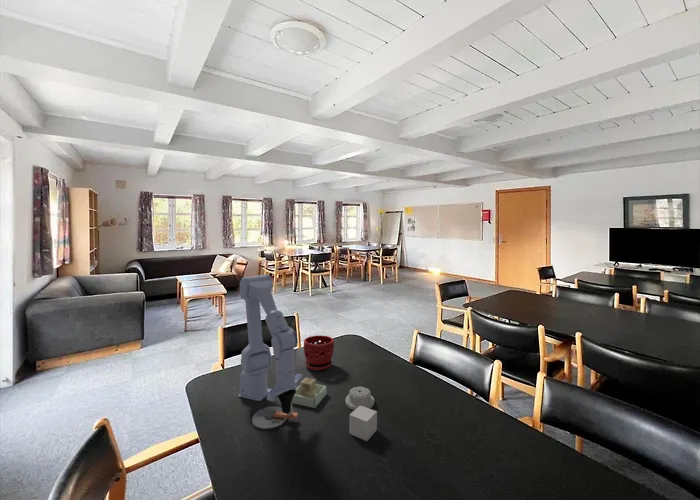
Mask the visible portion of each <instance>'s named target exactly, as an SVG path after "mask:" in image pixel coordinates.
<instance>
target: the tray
mask: <svg viewBox="0 0 700 500" xmlns="http://www.w3.org/2000/svg"><path fill="white" fill-rule="evenodd" d="M327 387H328V386H326V385H323V384H319V383H316V396H315V397H314V398H310V397H305V396H300V384H299V385H297V388H296V393H295V395H294V397H293V399H292V404H294V405H299V406H304V407H309V408H313V409H316V407H318V405H319V404H320V403H321V402H322V400H323V399H324V398H325V397H326V396H327V394H328V392H327V389H328V388H327Z"/></svg>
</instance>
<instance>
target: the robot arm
mask: <svg viewBox="0 0 700 500" xmlns="http://www.w3.org/2000/svg"><path fill="white" fill-rule="evenodd" d="M272 290H273V279H272V277H271V276H270V275H269V274H262V275H261V274H260V275H252V276H251V275H250V276H242V277H241V279H240V282H239V295H240V299H241V300H243V301H245V313H246V324H247V325H246V326H247V338H248V344H247V345H246V346H245V347H244V349H242V351H241V358H240V366H241V373H240V375H239V380H238V381H239V394H238V398H239V397H240V398H244V399H248V400H252V401H257V402H260V401H262V400H263V399H264V398H265V397H266V401H269V402H274V401H275V398H278V400H279V402H280V404H281V408H282V412H283V413H286V414H289V413H290V410H291V402H292V399H293V397H294V395H295V393H296V388H297V387H298V383H299V382H301V381H303V374H301V373H296V372H295V371H296V370H295V369H296V367H295V366H296V365H295V348H297V346H298V343H299V341H298V339H299V338H298V336H297V333H296V330H294V329H293V328H292V327H291V326H289V325H288V322H287V321H286V318H285V315H284V314H283V312H282V311H281V310H278V309H277V306H276V303H275V300H274V297H273V294H272V292H273V291H272ZM261 307H262V309H263V310H264V312H265V314H266V316H265V319H264V320H265V323H266V326H267V328H268V331H269V334H270V336H271V340H270V341H271V342H270V343H271V347H272V350H273V353H271V348H270V346H269V345H267V344H266V343H264V340H263V328H262V316H261V314H262V313H261ZM272 354H273V356H274V357H275V360H274V362H275V384H274V385H273V387H272V388H268V371H269V370H270V367H271V366H272V364H273V357H272ZM295 373H296V374H295Z"/></svg>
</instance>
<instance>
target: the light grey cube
mask: <svg viewBox="0 0 700 500" xmlns="http://www.w3.org/2000/svg"><path fill="white" fill-rule="evenodd" d="M348 417H349V419H348V420H349V421H348V422H349V429H348V430H349V435H352V436H354V437H356V438H359V439H361V440H363V441H365V442H368V441H369V440H370V439H371V438H372V436H373V435H374V434H375V433H376V431H378V411H377V410H374V409H372V408H370V409H369V408H366V407H363V406H361V405H360V406H359V407H358V408H356V409H355V410H352V412H351V413H350V414H349V415H348Z"/></svg>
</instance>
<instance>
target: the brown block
mask: <svg viewBox="0 0 700 500" xmlns="http://www.w3.org/2000/svg"><path fill="white" fill-rule="evenodd" d="M299 382H300V381H299ZM316 384H317V383H316V379H315V378H310V377H305V378H303V379H302V381H301V382H300V383H299V385H300V396H305V397H310V398H314V397H315V396H316Z"/></svg>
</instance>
